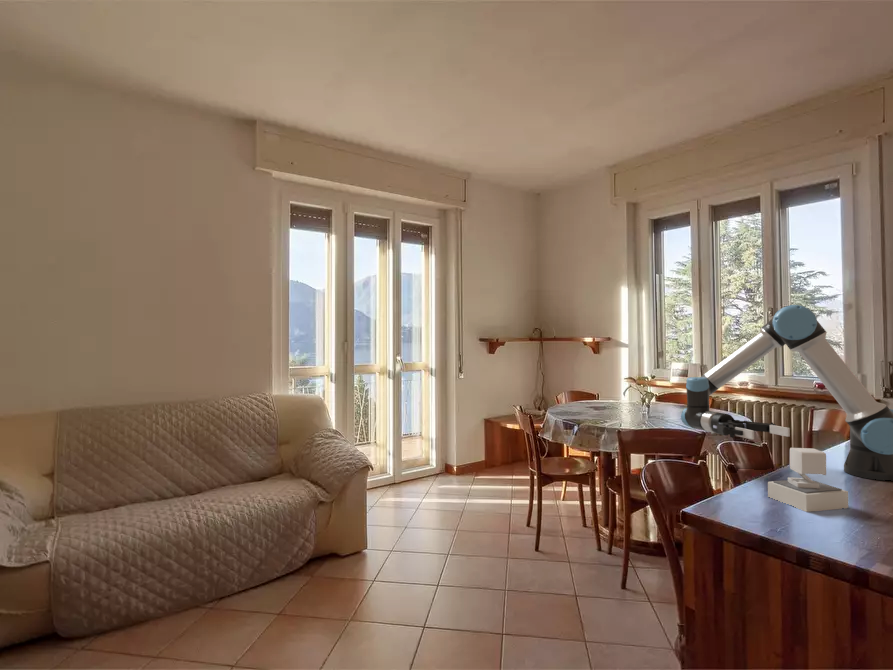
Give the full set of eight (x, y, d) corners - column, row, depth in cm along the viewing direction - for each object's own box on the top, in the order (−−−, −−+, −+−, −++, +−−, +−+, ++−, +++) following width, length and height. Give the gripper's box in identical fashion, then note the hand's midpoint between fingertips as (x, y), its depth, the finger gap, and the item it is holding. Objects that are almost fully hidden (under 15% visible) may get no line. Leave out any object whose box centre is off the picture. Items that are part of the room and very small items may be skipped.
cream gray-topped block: (807, 494, 142) (807, 477, 142) (848, 508, 131) (848, 489, 131) (767, 497, 140) (767, 480, 140) (806, 511, 128) (806, 493, 128)
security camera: (826, 489, 131) (826, 453, 131) (798, 487, 132) (798, 452, 133) (813, 482, 138) (813, 447, 138) (786, 481, 139) (786, 447, 139)
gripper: (747, 431, 172) (803, 443, 151) (688, 435, 167) (738, 448, 146) (747, 410, 172) (802, 419, 152) (688, 414, 167) (737, 423, 146)
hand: (771, 433), depth 149 cm, fingers open, 13 cm apart
